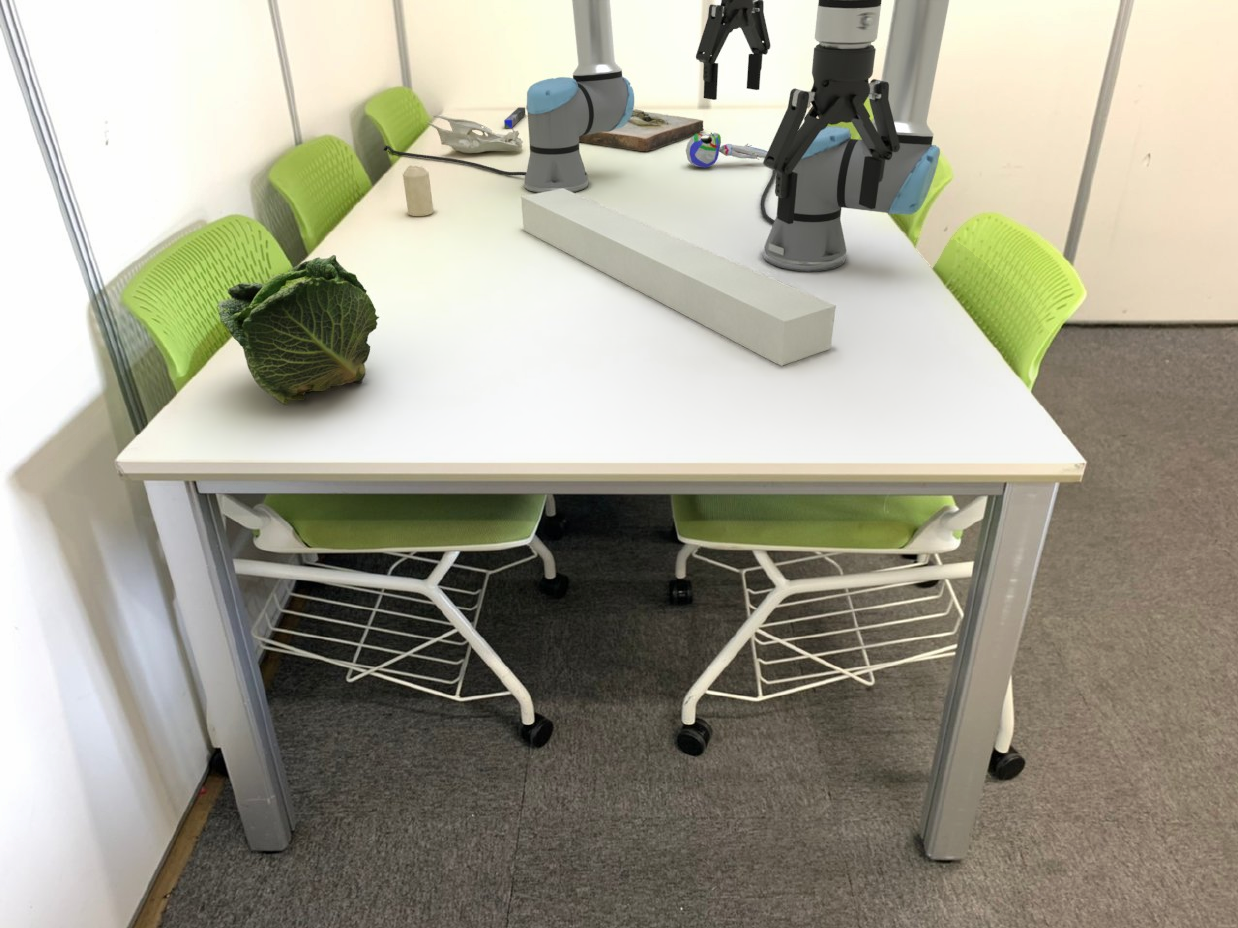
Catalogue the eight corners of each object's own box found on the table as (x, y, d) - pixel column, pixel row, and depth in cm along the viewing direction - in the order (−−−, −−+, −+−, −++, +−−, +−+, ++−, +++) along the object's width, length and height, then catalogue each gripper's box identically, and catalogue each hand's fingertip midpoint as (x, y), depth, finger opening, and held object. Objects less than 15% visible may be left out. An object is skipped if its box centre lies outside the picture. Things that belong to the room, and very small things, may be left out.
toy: (810, 148, 223) (693, 134, 219) (802, 182, 228) (688, 169, 223) (799, 138, 232) (687, 125, 227) (792, 172, 236) (681, 159, 232)
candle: (438, 210, 199) (432, 164, 194) (425, 217, 195) (419, 170, 189) (416, 208, 201) (410, 162, 195) (403, 215, 196) (396, 168, 191)
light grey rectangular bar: (523, 230, 187) (520, 196, 183) (565, 221, 192) (563, 188, 188) (780, 366, 131) (784, 321, 127) (830, 349, 136) (836, 305, 132)
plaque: (647, 125, 237) (559, 112, 252) (647, 153, 241) (560, 139, 256) (706, 107, 258) (622, 97, 273) (705, 133, 262) (622, 121, 277)
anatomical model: (438, 112, 249) (525, 110, 245) (443, 146, 254) (528, 145, 250) (420, 123, 236) (511, 122, 233) (426, 159, 241) (515, 158, 238)
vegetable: (300, 411, 136) (210, 300, 128) (407, 340, 137) (324, 225, 129) (292, 446, 117) (186, 319, 110) (414, 364, 119) (318, 232, 111)
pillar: (525, 107, 285) (511, 120, 268) (525, 114, 286) (511, 128, 269) (518, 107, 285) (503, 120, 268) (518, 114, 286) (504, 128, 270)
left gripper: (711, -21, 159) (705, 105, 170) (794, -30, 173) (784, 87, 185) (679, -23, 163) (676, 100, 175) (763, -32, 178) (755, 83, 189)
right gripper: (777, 56, 104) (764, 235, 115) (944, 39, 113) (917, 207, 124) (743, 48, 110) (734, 219, 121) (904, 32, 118) (882, 194, 130)
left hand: (731, 94), depth 180 cm, fingers open, 13 cm apart
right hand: (826, 213), depth 123 cm, fingers open, 13 cm apart
